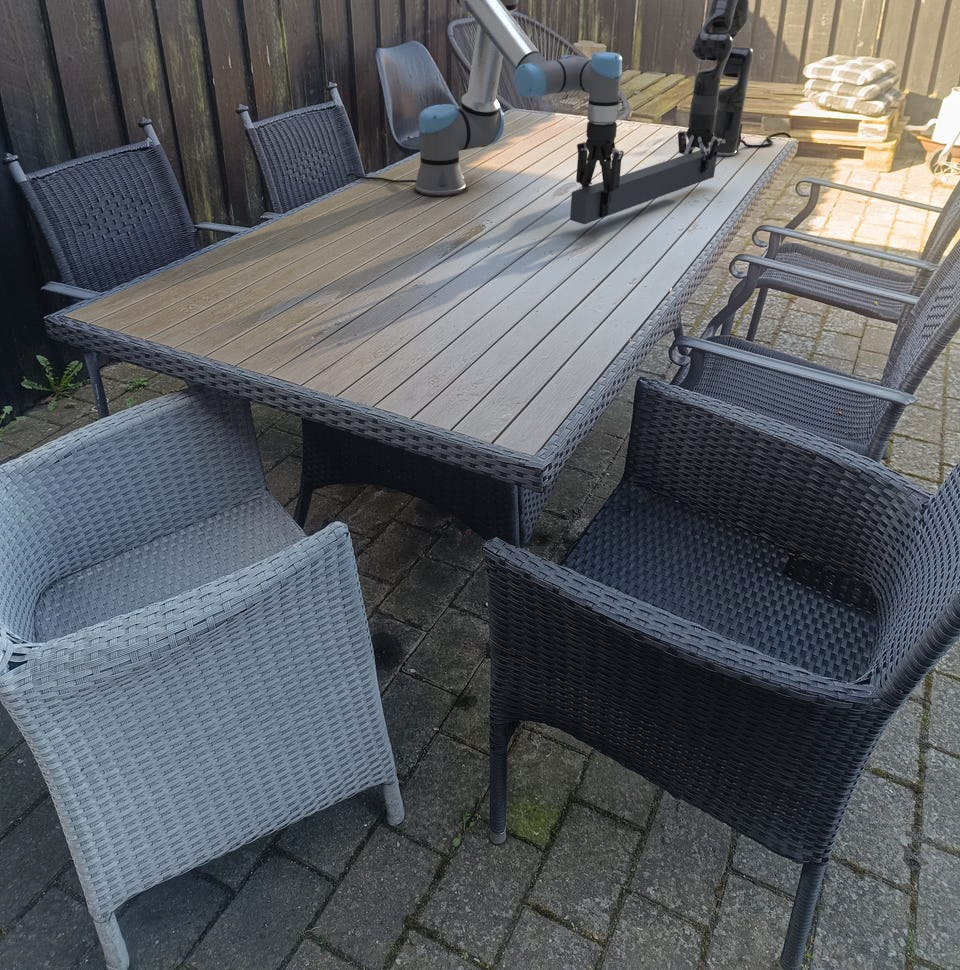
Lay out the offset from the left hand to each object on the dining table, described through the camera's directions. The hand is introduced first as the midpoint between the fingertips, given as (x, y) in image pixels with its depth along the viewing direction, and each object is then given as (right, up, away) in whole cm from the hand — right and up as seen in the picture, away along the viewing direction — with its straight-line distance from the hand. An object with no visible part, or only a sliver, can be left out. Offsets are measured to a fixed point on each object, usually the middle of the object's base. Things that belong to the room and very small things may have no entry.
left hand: (595, 213), depth 226 cm
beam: (+17, +9, +14) cm, 24 cm away
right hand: (+34, +21, +27) cm, 48 cm away
